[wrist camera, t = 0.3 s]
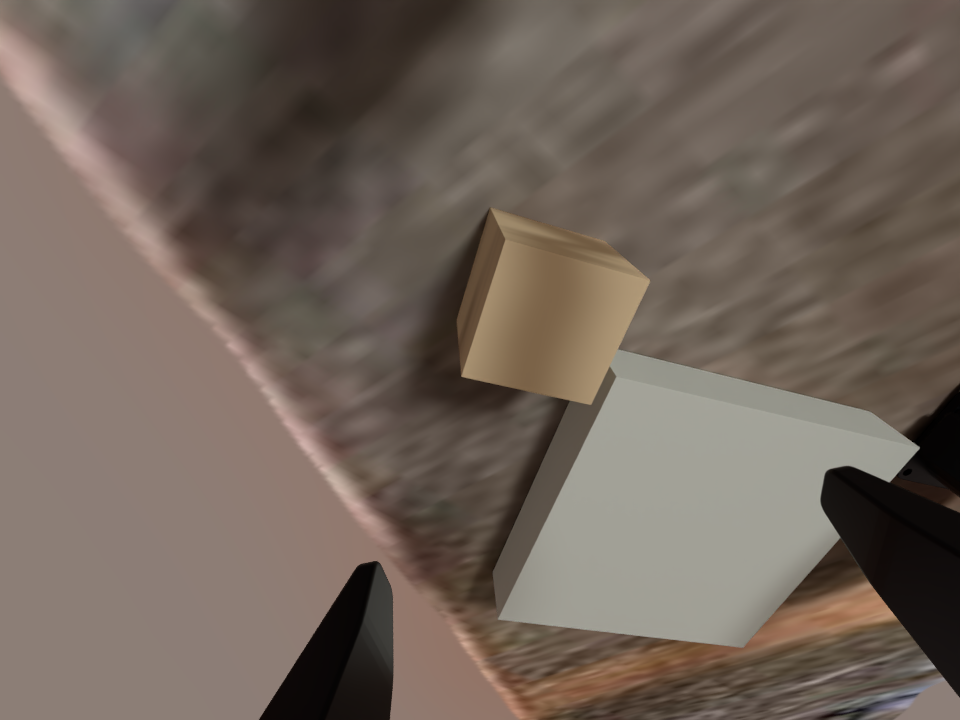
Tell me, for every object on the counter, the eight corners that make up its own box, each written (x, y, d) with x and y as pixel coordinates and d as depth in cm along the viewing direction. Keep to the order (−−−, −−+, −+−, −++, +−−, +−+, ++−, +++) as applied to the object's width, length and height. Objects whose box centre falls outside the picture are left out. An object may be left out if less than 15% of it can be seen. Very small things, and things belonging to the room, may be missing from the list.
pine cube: (604, 240, 20) (650, 280, 16) (560, 344, 22) (591, 405, 18) (489, 207, 19) (505, 239, 15) (456, 319, 21) (461, 376, 17)
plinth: (870, 411, 25) (920, 447, 23) (718, 603, 32) (742, 647, 30) (595, 343, 22) (616, 376, 20) (492, 572, 29) (497, 619, 27)
